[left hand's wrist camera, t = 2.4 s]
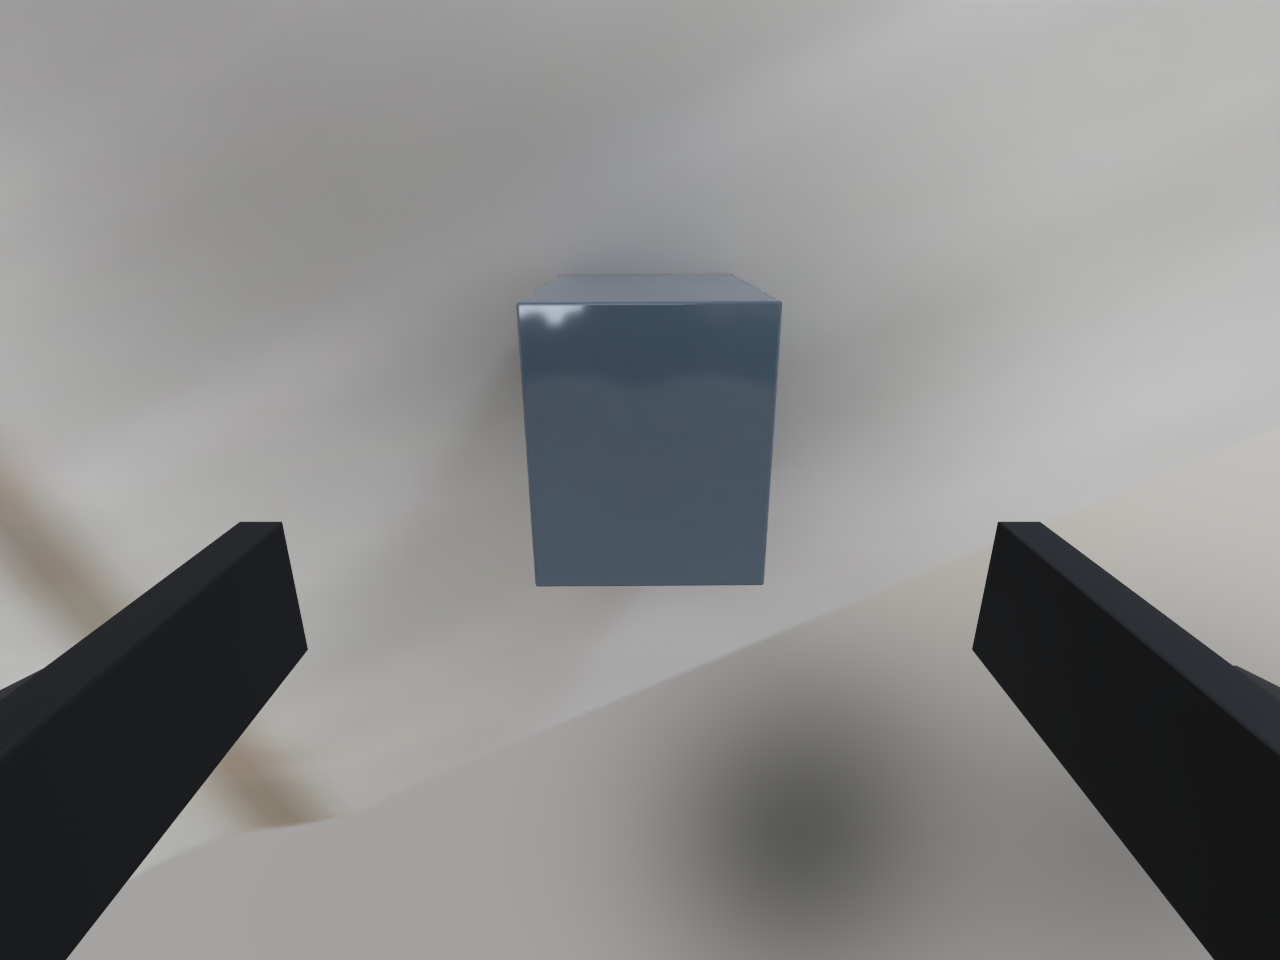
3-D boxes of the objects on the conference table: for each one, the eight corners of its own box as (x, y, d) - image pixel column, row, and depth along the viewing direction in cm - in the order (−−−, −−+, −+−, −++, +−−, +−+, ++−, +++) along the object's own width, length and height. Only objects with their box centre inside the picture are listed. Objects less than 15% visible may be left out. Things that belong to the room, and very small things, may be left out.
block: (567, 475, 30) (535, 587, 21) (557, 275, 27) (515, 302, 18) (725, 474, 30) (763, 585, 21) (734, 274, 27) (783, 301, 18)
